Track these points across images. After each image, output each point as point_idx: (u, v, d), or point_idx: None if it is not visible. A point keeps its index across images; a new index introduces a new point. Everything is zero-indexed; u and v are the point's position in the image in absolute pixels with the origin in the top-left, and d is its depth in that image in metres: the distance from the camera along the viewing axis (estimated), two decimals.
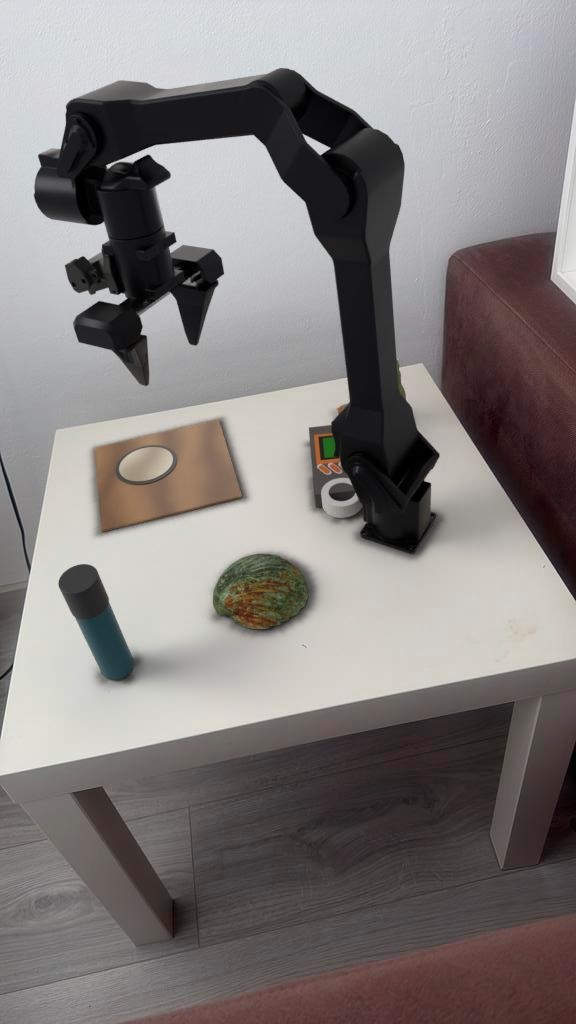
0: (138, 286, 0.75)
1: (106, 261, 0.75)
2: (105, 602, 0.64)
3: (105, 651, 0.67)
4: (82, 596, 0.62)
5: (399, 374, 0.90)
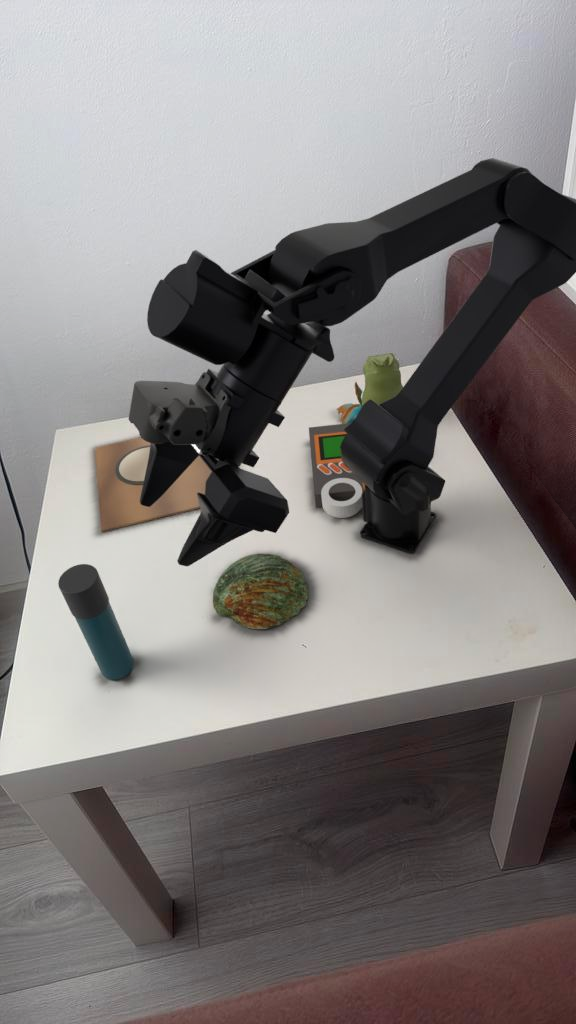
0: (246, 450, 0.61)
1: (224, 413, 0.58)
2: (105, 602, 0.64)
3: (105, 651, 0.67)
4: (82, 596, 0.62)
5: (399, 374, 0.90)
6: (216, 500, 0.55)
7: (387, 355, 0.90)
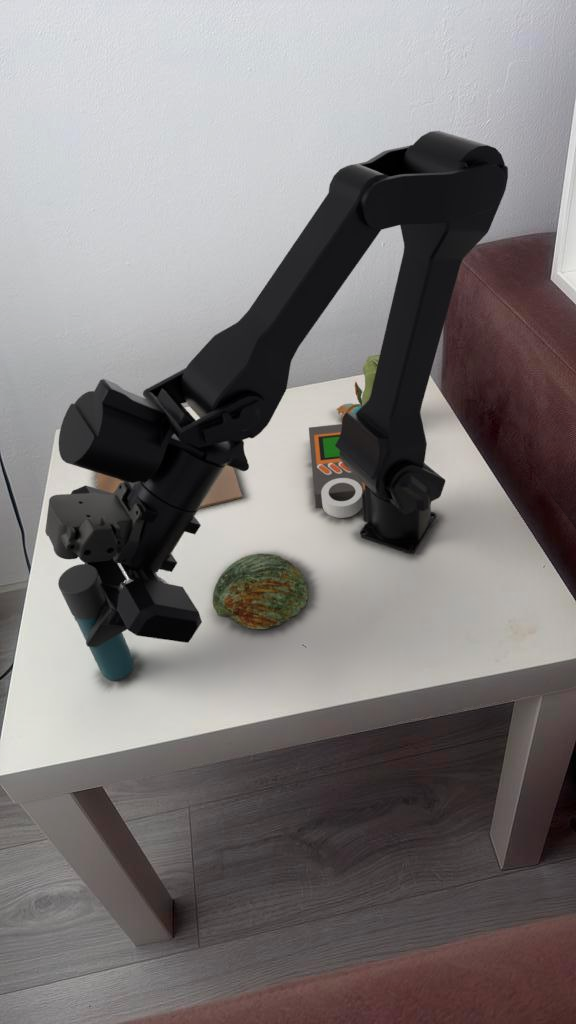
0: (163, 557, 0.63)
1: (138, 527, 0.60)
2: None
3: (105, 651, 0.67)
4: (82, 596, 0.62)
5: None
6: (126, 616, 0.57)
7: None
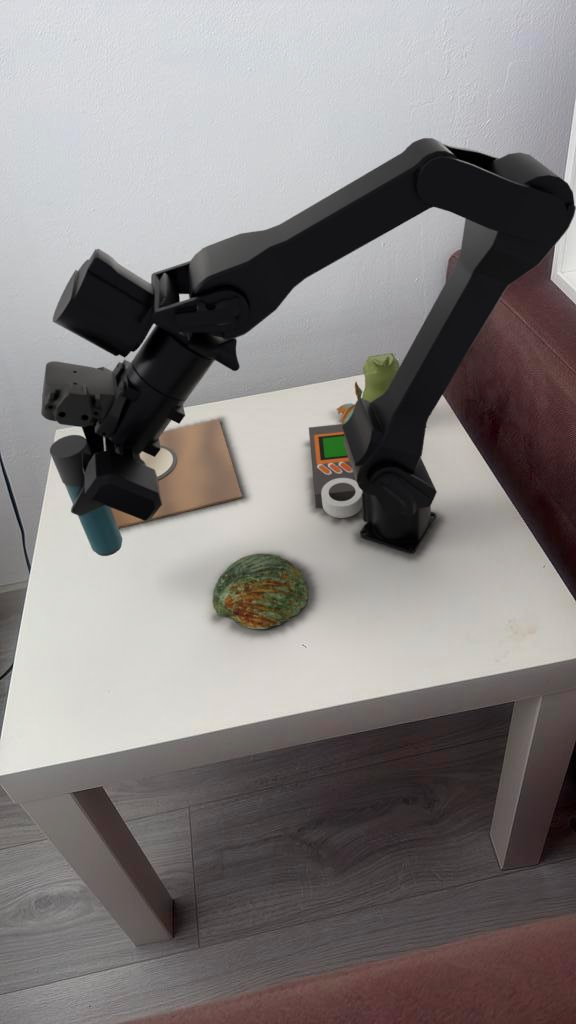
0: (145, 440, 0.65)
1: (119, 403, 0.62)
2: None
3: (90, 523, 0.71)
4: (66, 462, 0.66)
5: None
6: (87, 481, 0.60)
7: (387, 355, 0.90)
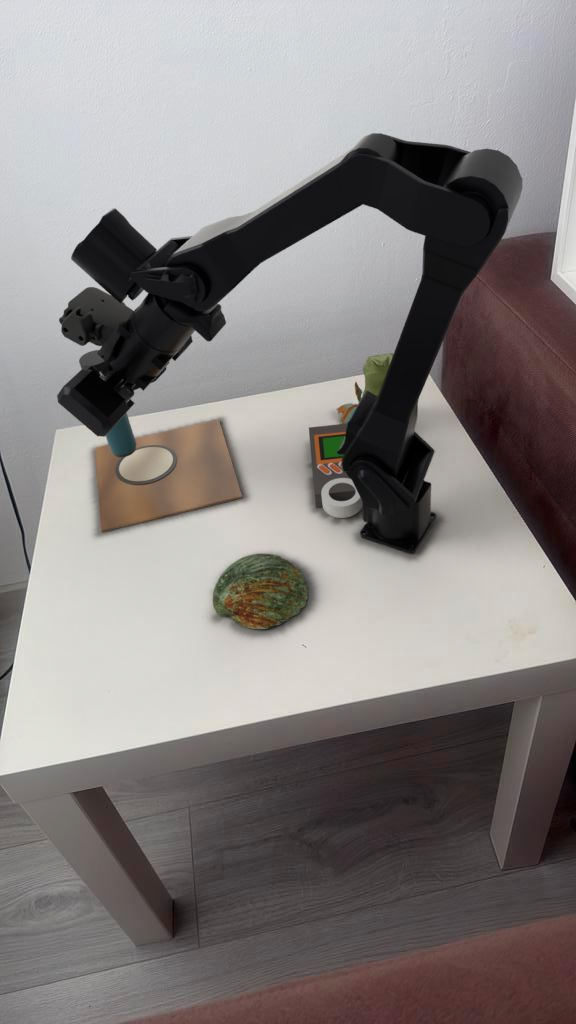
0: (133, 373, 0.77)
1: (114, 336, 0.75)
2: None
3: None
4: None
5: None
6: None
7: (387, 355, 0.90)
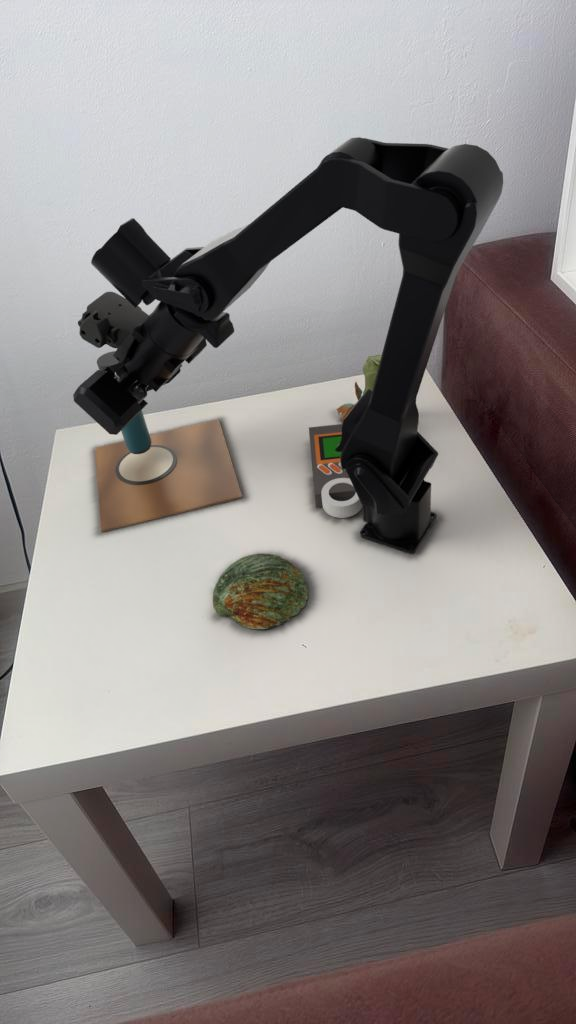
0: (147, 375, 0.81)
1: (129, 340, 0.78)
2: None
3: None
4: (101, 369, 0.85)
5: None
6: None
7: None
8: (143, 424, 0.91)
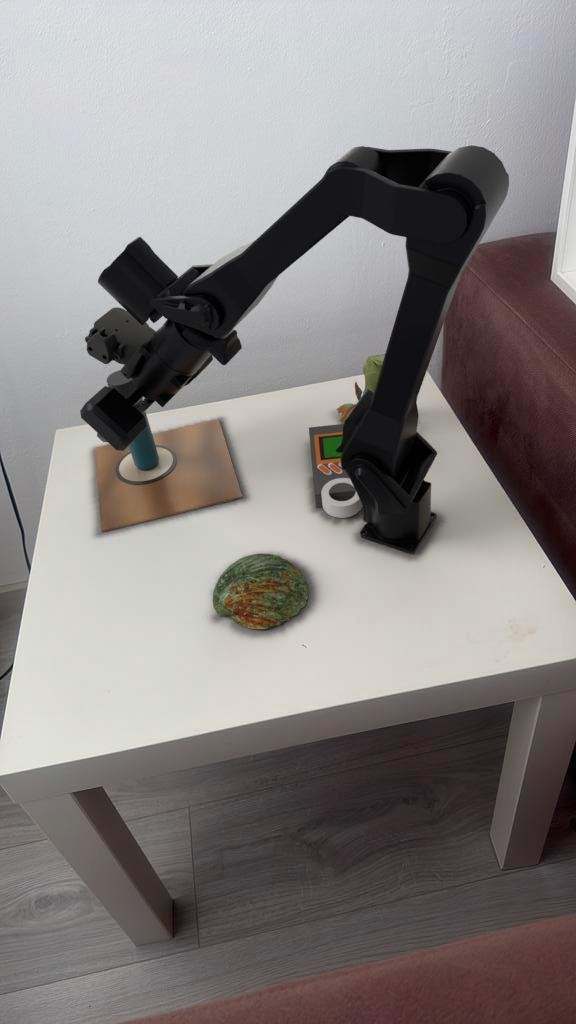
0: (153, 391, 0.81)
1: (136, 356, 0.78)
2: None
3: None
4: None
5: None
6: None
7: None
8: (151, 441, 0.91)
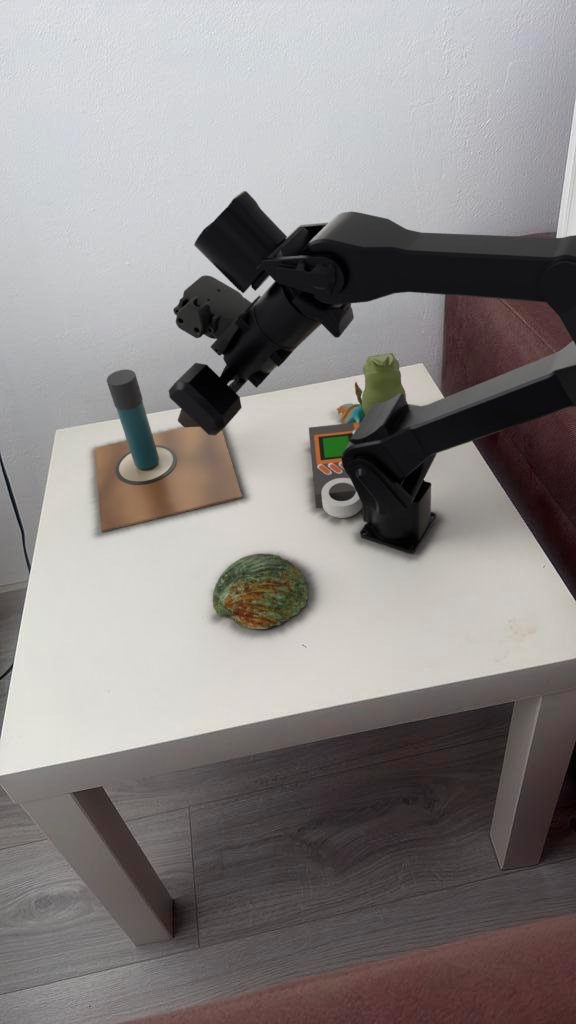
0: (248, 369, 0.72)
1: (232, 329, 0.70)
2: (130, 405, 0.86)
3: (128, 440, 0.90)
4: (111, 388, 0.85)
5: (399, 374, 0.90)
6: None
7: (387, 355, 0.90)
8: (151, 441, 0.91)
